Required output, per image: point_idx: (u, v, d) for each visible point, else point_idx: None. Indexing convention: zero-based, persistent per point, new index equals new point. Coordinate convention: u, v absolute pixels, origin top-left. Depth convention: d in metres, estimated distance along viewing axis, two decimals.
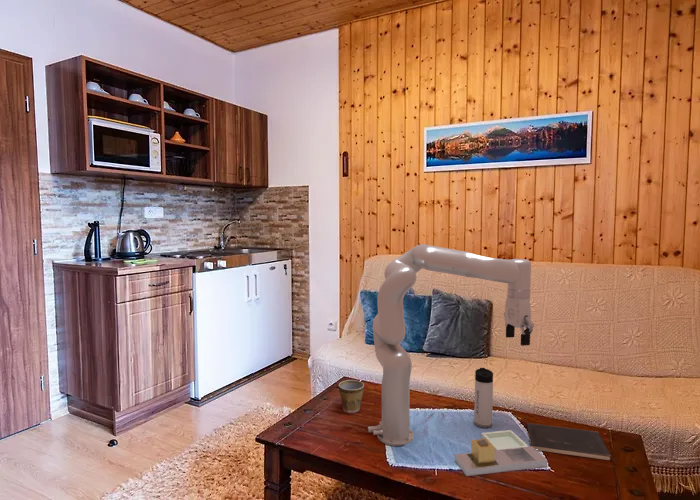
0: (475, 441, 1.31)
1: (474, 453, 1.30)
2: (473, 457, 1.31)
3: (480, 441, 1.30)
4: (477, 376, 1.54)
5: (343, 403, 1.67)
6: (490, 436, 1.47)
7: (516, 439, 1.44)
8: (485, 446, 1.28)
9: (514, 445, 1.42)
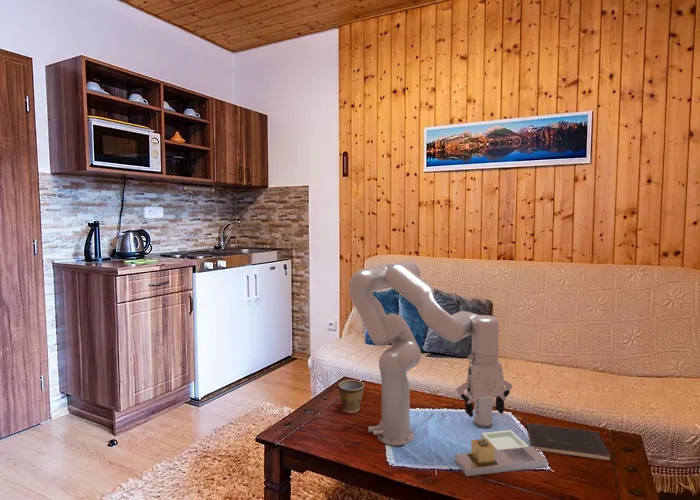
0: (475, 441, 1.31)
1: (474, 453, 1.30)
2: (473, 457, 1.31)
3: (480, 441, 1.30)
4: None
5: (343, 403, 1.67)
6: (490, 436, 1.47)
7: (516, 439, 1.44)
8: (485, 446, 1.28)
9: (514, 445, 1.42)
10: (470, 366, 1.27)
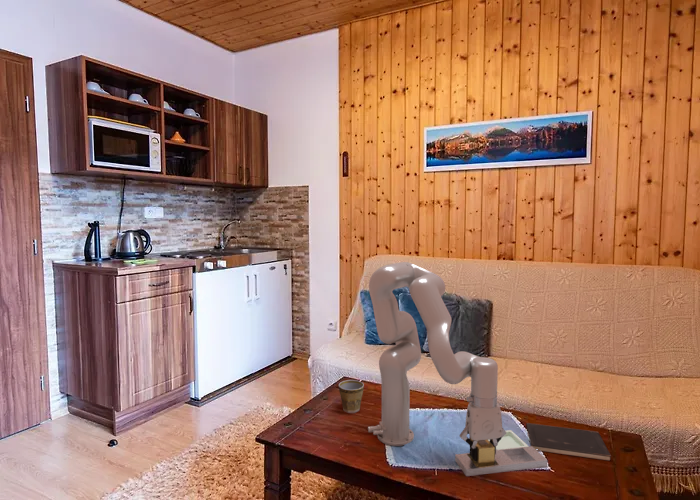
0: None
1: None
2: None
3: (480, 441, 1.30)
4: None
5: (343, 403, 1.67)
6: None
7: (516, 439, 1.44)
8: (485, 446, 1.28)
9: (514, 445, 1.42)
10: (469, 408, 1.28)
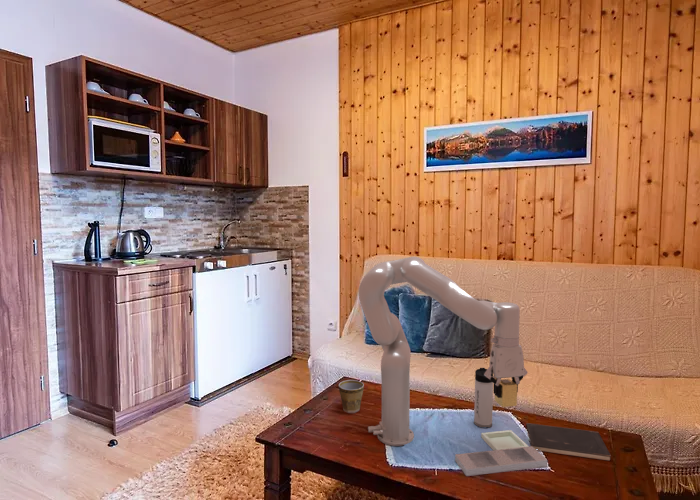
0: None
1: None
2: None
3: (503, 380, 1.41)
4: (477, 376, 1.54)
5: (343, 403, 1.67)
6: (490, 436, 1.47)
7: (516, 439, 1.44)
8: (508, 384, 1.39)
9: (514, 445, 1.42)
10: (493, 349, 1.39)
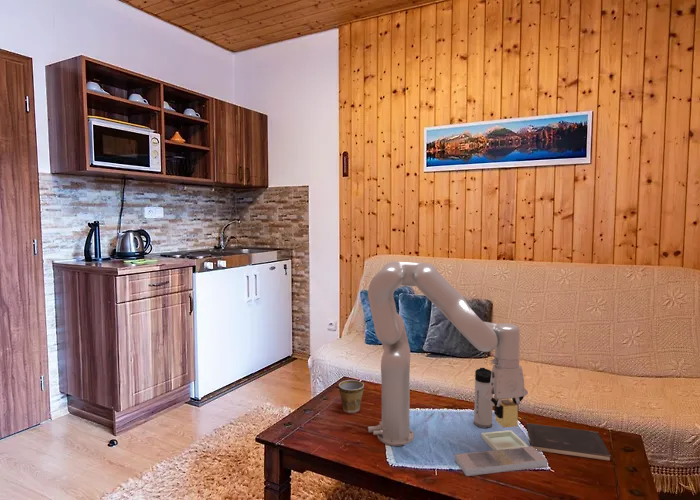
0: None
1: None
2: None
3: (504, 400, 1.42)
4: (477, 376, 1.54)
5: (343, 403, 1.67)
6: (490, 436, 1.47)
7: (516, 439, 1.44)
8: (509, 404, 1.40)
9: (514, 445, 1.42)
10: (493, 370, 1.40)
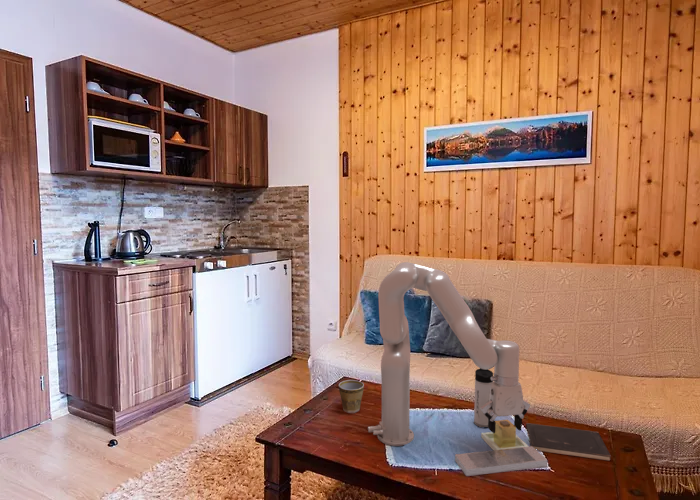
0: (497, 422, 1.43)
1: (496, 432, 1.42)
2: (496, 436, 1.43)
3: (502, 422, 1.42)
4: (477, 376, 1.54)
5: (343, 403, 1.67)
6: (490, 436, 1.47)
7: (516, 439, 1.44)
8: (507, 426, 1.40)
9: None
10: (493, 387, 1.40)
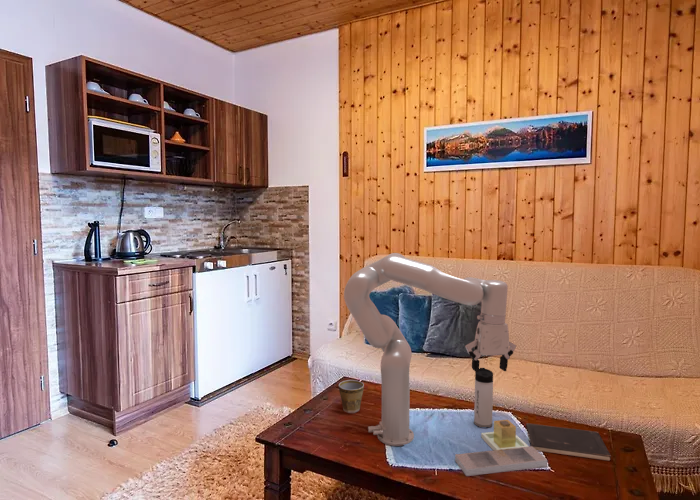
0: (497, 422, 1.43)
1: (496, 432, 1.42)
2: (496, 436, 1.43)
3: (502, 422, 1.42)
4: (477, 376, 1.54)
5: (343, 403, 1.67)
6: (490, 436, 1.47)
7: (516, 439, 1.44)
8: (507, 426, 1.40)
9: None
10: (479, 326, 1.37)
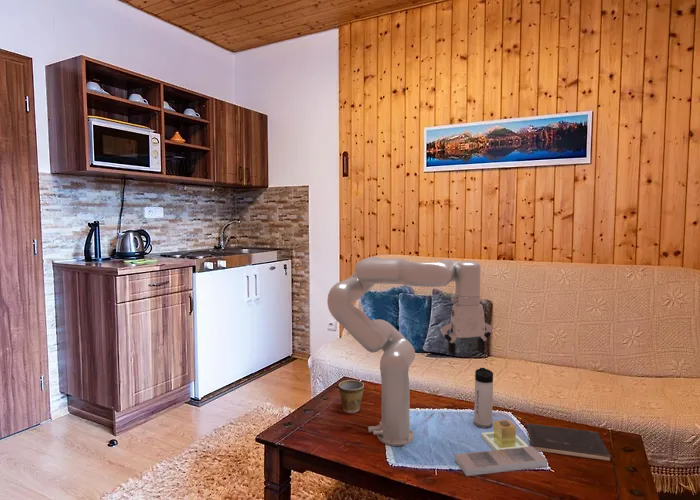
0: (497, 422, 1.43)
1: (496, 432, 1.42)
2: (496, 436, 1.43)
3: (502, 422, 1.42)
4: (477, 376, 1.54)
5: (343, 403, 1.67)
6: (490, 436, 1.47)
7: (516, 439, 1.44)
8: (507, 426, 1.40)
9: None
10: (453, 308, 1.35)
